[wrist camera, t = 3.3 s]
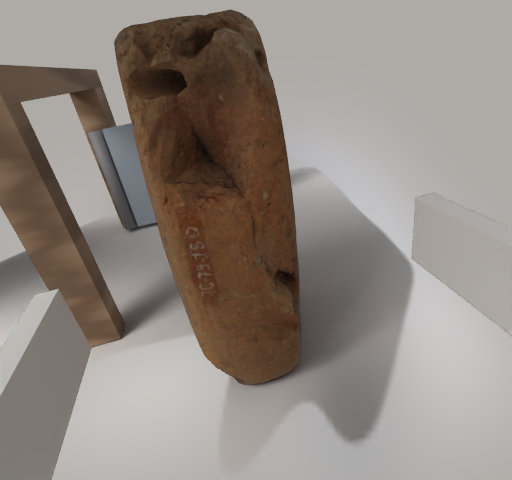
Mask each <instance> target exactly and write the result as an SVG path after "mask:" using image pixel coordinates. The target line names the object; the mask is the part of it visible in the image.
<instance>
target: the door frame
mask: <svg viewBox="0 0 512 480" xmlns="http://www.w3.org/2000/svg"><path fill="white" fill-rule="evenodd" d="M66 93H69V94H70V96H71V99H72V101H73V104H74V106H75V109H76V111H77V113H78V116H79V119H80V121H81V124H82V126H83V129H84V131H85V134H86V136H87V139H88V141H89V144H90V146H91V149H92V151H93V154H94V156H95V158H96V161H97V163H98V166H99V169H100V171H101V173H102V176H103V178H104V181H105V183H106V186H107V188H108V191H109V193H110V196H111V198H112V201H113V203H114V206H115V208H116V211H117V213H118V216H119V218H120V221H121V223H122V226H123V228H125V225H124V223H123V220H122V218H121V215H120V213H119V210H118V208H117V205H116V203H115V200H114V198H113V195H112V193H111V190H110V188H109V185H108V183H107V180H106V178H105V175H104V173H103V170H102V168H101V165H100V163H99V160H98V158H97V155H96V152H95V150H94V147H93V145H92V142H91V140H90V137H89V135H88V132H91V131H95V130H103V129H106V128H111V127H116V124H115V121H114V118H113V115H112V113H111V110H110V107H109V105H108V101H107V98H106V96H105V93H104V90H103V87H102V84H101V82H100V79H99V76H98V73H97V70H89V69H70V68H51V67H30V66H12V65H0V206H1V208H2V210H3V211H4V213H5V215H6V216H7V218H8V220H9V222H10V223H11V225H12V227H13V228H14V230H15V232H16V234H17V235H18V237H19V239H20V241H21V242H22V244H23V246H24V248H25V249H26V251H27V253H28V255H29V256H30V258H31V260H32V261H33V263H34V265H35V267H36V268H37V270H38V272H39V274H40V275H41V277H42V279H43V280H44V282H45V284H46V286H47V287H48V289H49V291H52V290H56V289H59V291H60V292H61V294H62V296H63V298H64V300H65V301H66V303H67V305H68V307H69V308H70V310H71V312H72V314H73V316H74V317H75V319H76V321H77V323H78V325H79V326H80V328H81V330H82V332H83V333H84V335H85V337H86V339H87V341H88V342H89V344H90V346H91V347H94V346H97V345H101V344H105V343H108V342H112V341H115V340H119V339H121V337H122V332H123V327H124V321H123V319H122V317H121V315H120V313H119V310H118V308H117V306H116V304H115V302H114V300H113V298H112V296H111V293H110V291H109V289H108V287H107V285H106V283H105V281H104V279H103V276H102V274H101V272H100V270H99V268H98V266H97V264H96V262H95V260H94V257H93V255H92V253H91V251H90V249H89V247H88V245H87V243H86V240H85V238H84V236H83V234H82V232H81V230H80V228H79V226H78V224H77V221H76V219H75V217H74V215H73V213H72V211H71V209H70V207H69V205H68V202H67V200H66V198H65V196H64V194H63V192H62V189H61V187H60V186H59V183H58V181H57V179H56V177H55V175H54V173H53V171H52V168H51V166H50V164H49V162H48V160H47V158H46V156H45V153H44V151H43V149H42V147H41V145H40V143H39V141H38V139H37V136H36V134H35V132H34V130H33V128H32V126H31V124H30V122H29V119H28V118H27V115H26V113H25V111H24V109H23V107H22V105H21V102H22V101H28V100H34V99H39V98H45V97H50V96H56V95H61V94H66ZM102 132H103V131H102ZM103 135H104V134H103ZM104 138H105V137H104ZM105 140H106V139H105ZM106 143H107V142H106ZM107 146H108V145H107ZM108 148H109V147H108ZM109 151H110V150H109ZM110 154H111V153H110ZM111 156H112V155H111ZM112 159H113V158H112ZM113 162H114V161H113ZM114 164H115V163H114ZM115 167H116V166H115ZM116 170H117V169H116ZM117 172H118V171H117ZM118 175H119V174H118ZM119 178H120V177H119ZM120 180H121V179H120ZM121 183H122V182H121ZM122 186H123V185H122ZM123 188H124V187H123ZM124 191H125V190H124ZM125 193H126V192H125ZM126 196H127V195H126ZM127 199H128V198H127ZM128 201H129V200H128ZM129 204H130V203H129ZM130 207H131V206H130ZM131 209H132V208H131ZM132 212H133V211H132ZM133 215H134V214H133ZM134 217H135V216H134ZM135 220H136V219H135ZM136 223H137V222H136ZM137 225H138V224H137Z"/></svg>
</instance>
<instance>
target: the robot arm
mask: <svg viewBox="0 0 512 480" xmlns="http://www.w3.org/2000/svg"><path fill="white" fill-rule="evenodd" d="M412 259H413V260H415V261H416V262H417V263H418V264H419V265H421V266H422V267H423V268H424V269H426V270H427V271H429V272H430V273H431V274H433V275H434V276H435V277H436V278H437V279H439V280H440V281H441V282H443V283H444V284H445V285H446V286H448V287H449V288H450V289H452V290H453V291H454V292H455V293H457V294H458V295H459V296H461V297H462V298H463V299H465V300H466V301H467V302H468V303H470V304H471V305H472V306H474V307H475V308H476V309H477V310H479V311H480V312H481V313H483V314H484V315H485V316H487V317H488V318H489V319H490V320H492V321H493V322H494V323H496V324H497V325H498V326H499V327H501V328H502V329H503V330H504V331H506V332H507V333H508V334H510V335H511V336H512V228H510V227H508V226H506V225H504V224H501V223H499V222H497V221H495V220H493V219H490V218H488V217H486V216H484V215H482V214H480V213H477V212H475V211H473V210H471V209H469V208H466V207H464V206H462V205H460V204H458V203H455V202H453V201H451V200H449V199H447V198H444V197H442V196H440V195H438V194H436V193H431V194H427V195H423V196H419V197H416V199H415V214H414V230H413V246H412ZM90 351H91V346H90V344H89V342H88V341H87V339H86V337H85V335H84V333H83V332H82V330H81V328H80V326H79V325H78V323H77V321H76V319H75V317H74V316H73V314H72V312H71V310H70V308H69V307H68V305H67V303H66V301H65V300H64V298H63V296H62V294H61V292H60V291H59V289H56V290H52V291H48V292H44V293H40V294H36V295H34V297H33V298H32V300H31V302H30V303H29V305H28V306H27V308H26V309H25V311H24V313H23V314H22V316H21V317H20V319H19V320H18V322H17V324H16V325H15V327H14V328H13V330H12V331H11V333H10V335H9V336H8V338H7V339H6V341H5V342H4V344H3V346H2V347H1V349H0V480H51V479H52V476H53V473H54V469H55V466H56V463H57V460H58V456H59V453H60V450H61V446H62V443H63V440H64V436H65V433H66V430H67V427H68V423H69V420H70V417H71V413H72V410H73V407H74V404H75V400H76V397H77V394H78V391H79V387H80V384H81V381H82V377H83V374H84V371H85V368H86V364H87V361H88V358H89V354H90Z"/></svg>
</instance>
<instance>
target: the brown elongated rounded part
mask: <svg viewBox="0 0 512 480" xmlns="http://www.w3.org/2000/svg"><path fill="white" fill-rule="evenodd" d="M114 45H115V52H116V59H117V66H118V70H119V74H120V78H121V83H122V87H123V91H124V95H125V98H126V102H127V107H128V110H129V114H130V118H131V121H132V123H133V126H134V127H133V134H134V138H135V142H136V146H137V150H138V153H139V159H140V163H141V167H142V171H143V175H144V179H145V183H146V187H147V191H148V194H149V197H150V201H151V204H152V208H153V211H154V214H155V218H156V221H157V224H158V228H159V232H160V236H161V239H162V242H163V245H164V248H165V252H166V255H167V258H168V261H169V263H170V266H171V269H172V273H173V276H174V279H175V282H176V285H177V287H178V290H179V293H180V295H181V298H182V301H183V303H184V306H185V309H186V312H187V315H188V318H189V320H190V323H191V325H192V328H193V330H194V333H195V335H196V338H197V340H198V342H199V345H200V347H201V349H202V351H203V353H204V355H205V356H206V358H207V359H208V360H209V361H211V362H212V364H213V365H215V366H216V367H217V368H218V369H221V370H222V371H223V372H225V373H226V374H228V375H230V376H232V377H234V378H235V379H236V380H237V381H238V383H241V384H244V385H253V384H259V383H265V382H267V381H269V380H272V379H274V378H277V377H279V376H283V375H285V374H287V373H288V372H290V371H291V370H292V369H293V368H294V367H295V366H296V365H297V364H298V361H299V358H300V355H301V323H300V313H299V269H298V257H297V243H296V227H295V214H294V205H293V195H292V187H291V180H290V173H289V166H288V158H287V151H286V145H285V139H284V132H283V127H282V121H281V116H280V110H279V106H278V101H277V97H276V93H275V88H274V84H273V80H272V78H271V75H270V72H269V69H268V64H267V58H266V54H265V50H264V47H263V43H262V40H261V37H260V34H259V32H258V30H257V28H256V27H255V25H254V23H253V21H252V20H250V19H249V18H247V17H246V16H245V15H243V14H242V13H240V12H237V11H233V10H227V11H222V12H217V13H210V14H208V15H205V16H204V15H195V16H183V17H176V18H169V19H163V20H157V21H153V22H149V23H145V24H137V25H131V26H129V27H127V28H124V29H123V30H122V31H121V32H120V33H119V34H118V36H117V37H116V39H115V42H114Z"/></svg>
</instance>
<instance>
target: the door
mask: <svg viewBox="0 0 512 480" xmlns="http://www.w3.org/2000/svg"><path fill="white" fill-rule="evenodd" d="M133 127H134V126H133V123H130V124H126V125H121V126H116V127H111V128H106V129H103V130H95V131H91V132H88V135H89V137H90V140H91V142H92V145H93V147H94V150H95V152H96V155H97V158H98V160H99V163H100V165H101V168H102V170H103V173H104V175H105V178H106V180H107V183H108V185H109V188H110V190H111V193H112V195H113V198H114V200H115V203H116V205H117V208H118V210H119V213H120V215H121V218H122V220H123V223H124V225H125V228H126V229H133V228H135V227H136V226H137V224H138V227H139V226H143V225H148V224H152V223H156V222H157V221H156V218H155V214H154V211H153V208H152V204H151V201H150V197H149V194H148V191H147V187H146V183H145V179H144V175H143V171H142V167H141V163H140V159H139V153H138V150H137V146H136V142H135V138H134V134H133ZM102 131H103V132H102ZM103 134H104V135H103ZM104 137H105V138H104ZM105 139H106V140H105ZM106 142H107V143H106ZM107 145H108V146H107ZM108 147H109V148H108ZM109 150H110V151H109ZM110 153H111V154H110ZM111 155H112V156H111ZM112 158H113V159H112ZM113 161H114V162H113ZM114 163H115V164H114ZM115 166H116V167H115ZM116 169H117V170H116ZM117 171H118V172H117ZM118 174H119V175H118ZM119 177H120V178H119ZM120 179H121V180H120ZM121 182H122V183H121ZM122 185H123V186H122ZM123 187H124V188H123ZM124 190H125V191H124ZM125 192H126V193H125ZM126 195H127V196H126ZM127 198H128V199H127ZM128 200H129V201H128ZM129 203H130V204H129ZM130 206H131V207H130ZM131 208H132V209H131ZM132 211H133V212H132ZM133 214H134V215H133ZM134 216H135V217H134ZM135 219H136V220H135ZM136 222H137V223H136Z"/></svg>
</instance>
